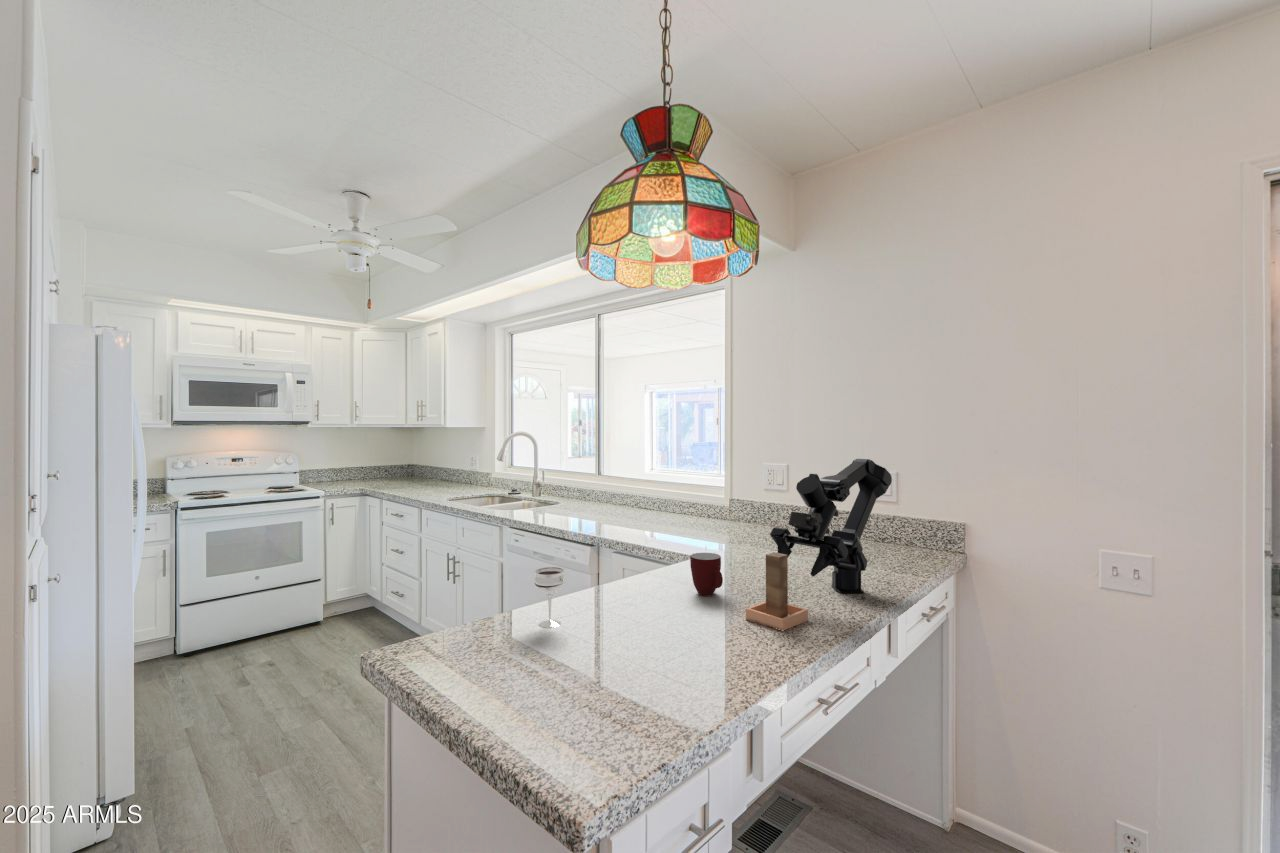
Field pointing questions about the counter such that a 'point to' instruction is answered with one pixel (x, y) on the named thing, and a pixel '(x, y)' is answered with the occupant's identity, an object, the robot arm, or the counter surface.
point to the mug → (706, 572)
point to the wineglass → (549, 588)
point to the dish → (760, 616)
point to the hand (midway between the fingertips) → (794, 571)
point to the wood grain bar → (777, 584)
